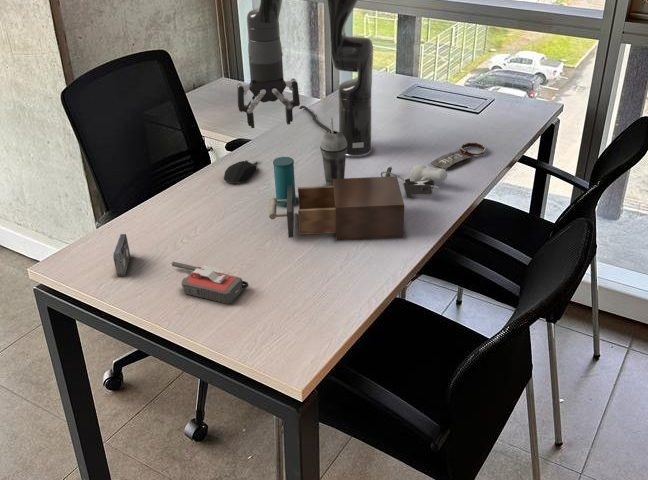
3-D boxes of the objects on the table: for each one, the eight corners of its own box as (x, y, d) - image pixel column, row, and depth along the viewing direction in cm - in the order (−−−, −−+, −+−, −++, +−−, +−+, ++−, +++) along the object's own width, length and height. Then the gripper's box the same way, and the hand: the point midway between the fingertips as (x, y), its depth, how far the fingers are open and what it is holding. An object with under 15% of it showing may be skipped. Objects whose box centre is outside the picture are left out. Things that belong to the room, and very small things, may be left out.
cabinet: (336, 240, 171) (335, 207, 166) (333, 210, 184) (332, 178, 179) (403, 237, 171) (404, 204, 167) (396, 207, 184) (396, 176, 179)
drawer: (270, 238, 171) (267, 212, 167) (271, 210, 182) (269, 186, 179) (350, 235, 171) (350, 209, 168) (347, 207, 183) (346, 182, 179)
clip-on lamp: (373, 196, 196) (430, 201, 184) (368, 175, 193) (425, 178, 181) (397, 176, 203) (453, 179, 192) (392, 155, 200) (448, 157, 189)
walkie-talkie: (254, 284, 156) (175, 266, 163) (252, 267, 154) (172, 249, 161) (234, 307, 150) (152, 287, 156) (231, 289, 147) (149, 269, 154)
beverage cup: (352, 182, 197) (351, 111, 186) (343, 194, 191) (342, 122, 180) (326, 178, 199) (324, 109, 188) (317, 190, 193) (314, 119, 182)
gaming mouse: (266, 165, 207) (265, 152, 205) (239, 187, 196) (238, 173, 194) (247, 161, 209) (246, 148, 207) (219, 183, 198) (217, 169, 196)
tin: (275, 207, 186) (272, 165, 180) (276, 197, 190) (273, 157, 184) (296, 206, 186) (293, 164, 180) (296, 196, 190) (293, 156, 184)
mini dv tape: (123, 256, 167) (119, 234, 164) (130, 256, 167) (125, 233, 164) (117, 276, 160) (112, 253, 157) (124, 276, 160) (119, 253, 157)
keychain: (426, 163, 205) (426, 157, 204) (471, 144, 216) (471, 138, 215) (447, 172, 200) (447, 166, 199) (491, 152, 211) (492, 146, 210)
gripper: (294, 50, 169) (297, 116, 177) (232, 55, 166) (238, 122, 175) (299, 59, 162) (302, 128, 171) (235, 65, 160) (242, 134, 168)
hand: (270, 125), depth 173 cm, fingers open, 8 cm apart
